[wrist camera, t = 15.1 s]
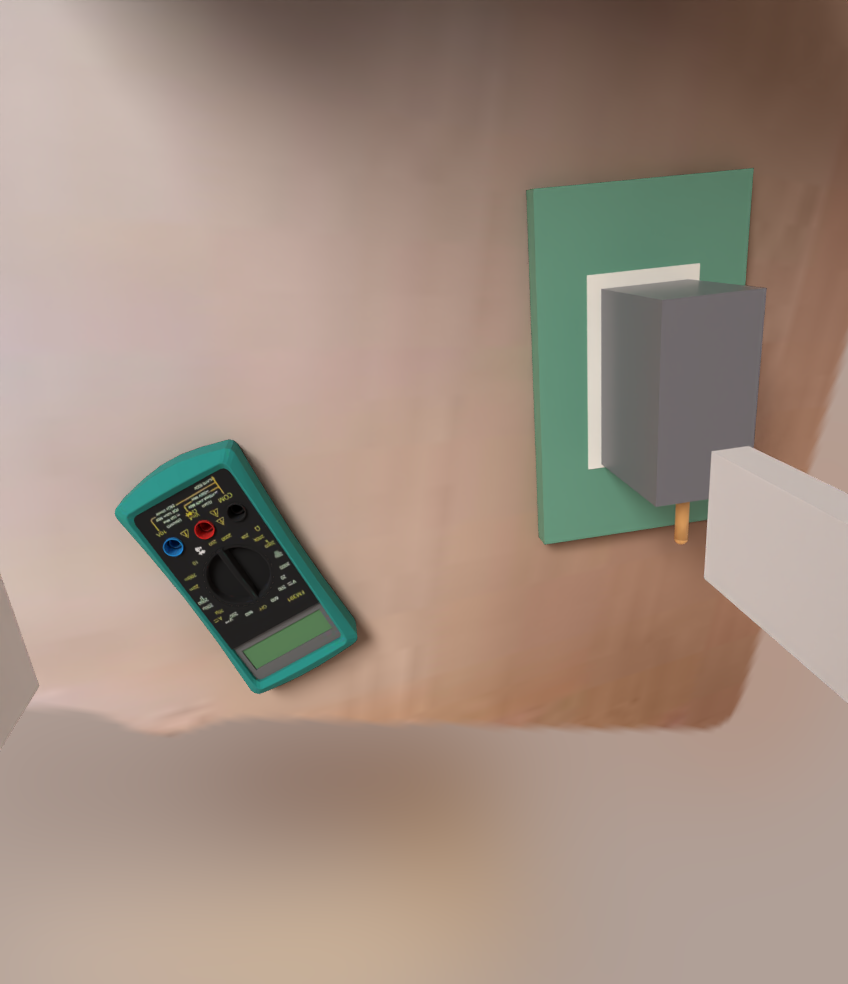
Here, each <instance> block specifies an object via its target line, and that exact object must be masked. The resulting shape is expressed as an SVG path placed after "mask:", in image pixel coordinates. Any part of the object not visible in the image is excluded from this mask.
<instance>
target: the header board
mask: <svg viewBox="0 0 848 984" xmlns="http://www.w3.org/2000/svg"><path fill="white" fill-rule="evenodd" d="M753 169H754V168H749V169H739V170H728V171H718V172H707V173H696V174H686V175H675V176H665V177H654V178H643V179H633V180H622V181H612V182H601V183H590V184H580V185H569V186H559V187H548V188H537V189H530V190H526V196H527V224H528V252H529V279H530V307H531V335H532V363H533V391H534V419H535V447H536V475H537V503H538V531H539V538H540V539H541V540H542V542H543V543H544V544H551V543H558V542H564V541H571V540H578V539H584V538H591V537H597V536H604V535H610V534H617V533H624V532H630V531H637V530H643V529H650V528H656V527H663V526H670V525H675V508H676V504H672V505H666V506H659V507H655V506H654V505H653V504H652V503H650V502H649V501H648V500H646V499H645V498H644V497H643V496H641V495H640V494H639V493H638V492H636V491H635V490H634V489H632V488H631V487H630V486H629V485H627V484H626V483H625V482H624V481H622V480H621V479H620V478H618V477H617V476H616V475H615V474H613V473H612V472H611V471H610V470H608V469H607V468H606V467H604V466H603V465H602V464H601V289H605V288H614V287H623V286H632V285H641V284H650V283H659V282H668V281H677V280H686V279H692V280H701V281H709V282H718V283H727V284H736V285H745V282H746V268H747V254H748V240H749V226H750V211H751V197H752V183H753ZM708 503H709V499H706V500H699V501H693V502H690V508H689V522H696V521H702V520H708Z"/></svg>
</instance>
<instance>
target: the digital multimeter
mask: <svg viewBox="0 0 848 984" xmlns="http://www.w3.org/2000/svg"><path fill="white" fill-rule="evenodd" d="M233 476H234V477H233ZM235 479H236V480H235ZM237 482H238V483H237ZM239 485H240V486H239ZM241 488H242V489H241ZM244 492H245V493H244ZM246 495H247V496H246ZM248 498H249V499H248ZM250 501H251V502H250ZM252 504H253V505H252ZM254 507H255V508H254ZM257 511H258V512H257ZM259 514H260V515H259ZM115 515H116V518H117V519H118V520H119V521H120V523H121V524H122V525H123V526H124V527H125V528H126V529H127V531H128V532H129V533H130V534H131V535H132V536H133V538H134V539H135V540H136V541H137V542H138V543H139V544H140V546H141V547H142V548H143V549H144V550H145V551H146V552H147V554H148V555H149V556H150V557H151V558H152V560H153V561H154V562H155V563H156V564H157V566H158V567H159V568H160V569H161V570H162V572H163V573H164V574H165V575H166V576H167V578H168V579H169V580H170V581H171V582H172V584H173V585H174V586H175V587H176V589H177V590H178V591H179V592H180V593H181V595H182V596H183V597H184V598H185V599H186V601H187V602H188V603H189V605H190V606H191V607H192V609H193V610H194V611H195V613H196V614H197V615H198V617H199V618H200V619H201V621H202V622H203V623H204V625H205V626H206V627H207V629H208V630H209V631H210V633H211V634H212V635H213V637H214V638H215V639H216V641H217V642H218V643H219V645H220V646H221V648H222V649H223V651H224V652H225V653H226V655H227V656H228V658H229V659H230V661H231V662H232V664H233V665H234V666H235V668H236V669H237V671H238V672H239V674H240V675H241V676H242V678H243V679H244V681H245V682H246V684H247V685H248V687H249V688H250V689H251V691H253V692H254V693H257V694H260V693H264V692H266V691H268V690H271V689H273V688H275V687H277V686H280V685H282V684H284V683H286V682H288V681H291V680H293V679H295V678H297V677H299V676H301V675H303V674H305V673H307V672H308V671H310V670H312V669H314V668H316V667H318V666H319V665H321V664H323V663H324V662H326V661H327V660H329V659H331V658H332V657H334V656H336V655H337V654H339V653H340V652H342V651H343V650H345V649H346V648H348V647H349V646H351V645H352V644H353V643H355V642H356V640H357V629H356V622H355V619H354V618H353V616H352V615H351V614H350V612H349V611H348V610H347V608H346V607H345V606H344V604H343V603H342V602H341V600H340V599H339V598H338V596H337V595H336V594H335V592H334V591H333V590H332V588H331V587H330V586H329V584H328V583H327V582H326V580H325V579H324V578H323V576H322V575H321V574H320V572H319V571H318V569H317V568H316V566H315V565H314V563H313V562H312V561H311V559H310V558H309V556H308V555H307V553H306V552H305V550H304V549H303V548H302V546H301V545H300V543H299V542H298V540H297V539H296V537H295V536H294V535H293V533H292V532H291V530H290V529H289V527H288V525H287V524H286V522H285V521H284V519H283V517H282V516H281V514H280V513H279V511H278V510H277V508H276V506H275V505H274V503H273V502H272V500H271V498H270V497H269V495H268V494H267V492H266V490H265V489H264V487H263V486H262V484H261V482H260V481H259V479H258V477H257V476H256V474H255V472H254V471H253V469H252V467H251V466H250V464H249V462H248V461H247V459H246V457H245V456H244V454H243V452H242V451H241V449H240V447H239V446H238V444H237V443H236V442H235V441H233V440H225V441H222V442H218V443H214V444H211V445H207V446H203V447H200V448H198V449H195V450H192V451H189V452H187V453H184V454H181V455H179V456H177V457H175V458H174V459H172V460H170V461H168V462H166V463H165V464H163V465H161V466H160V467H158V468H157V469H156V470H155V471H153V472H152V473H151V474H150V475H148V476H147V477H146V478H145V479H143V480H142V481H141V482H140V483H139V484H138V485H137V486H136V487H135V488H134V489H133V490H132V491H131V492H130V493H129V494H128V495H126V496H125V497H124V499H123V500H122V501H121V503H120V504H119V505H118V507H117V508H116V510H115ZM261 517H262V518H261ZM263 520H264V521H263ZM265 523H266V524H265ZM267 526H268V527H267ZM272 533H273V534H272ZM274 536H275V537H274ZM276 539H277V540H276ZM278 542H279V543H278ZM280 545H281V546H280ZM217 550H218V551H217ZM213 553H214V554H213ZM287 555H288V556H287ZM210 556H211V557H210ZM289 558H290V559H289ZM268 559H269V560H268ZM291 561H292V562H291ZM206 562H207V563H206ZM204 567H205V568H204ZM298 571H299V572H298ZM300 574H301V575H300ZM203 575H204V576H203ZM302 577H303V578H302ZM304 580H305V581H304ZM206 587H207V588H206ZM270 588H271V589H270ZM311 590H312V591H311ZM313 593H314V594H313ZM213 596H214V597H213ZM315 596H316V597H315ZM317 599H318V600H317ZM232 605H233V606H232ZM244 605H246V606H244Z"/></svg>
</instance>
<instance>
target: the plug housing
mask: <svg viewBox="0 0 848 984" xmlns="http://www.w3.org/2000/svg"><path fill="white" fill-rule="evenodd" d="M766 289H767V288H762V287H753V286H745V285H736V284H727V283H718V282H709V281H701V280H692V279H686V280H677V281H668V282H659V283H650V284H641V285H632V286H623V287H614V288H605V289H601V464H602V465H603V466H604V467H606V468H607V469H608V470H610V471H611V472H612V473H613V474H615V475H616V476H617V477H618V478H620V479H621V480H622V481H624V482H625V483H626V484H627V485H629V486H630V487H631V488H632V489H634V490H635V491H636V492H638V493H639V494H640V495H641V496H643V497H644V498H645V499H646V500H648V501H649V502H650V503H652V504H653V505H654V506H655V507H659V506H666V505H672V504H676V508H675V533H674V539H675V542H676V543H678V544H685V543H686V542H687V541H688V529H689V508H690V502H693V501H699V500H706V499H709V486H710V469H711V453H712V451H717V450H724V449H731V448H738V447H745V446H750V447H752V448H754V436H755V424H756V412H757V399H758V387H759V375H760V363H761V350H762V338H763V326H764V314H765V301H766Z"/></svg>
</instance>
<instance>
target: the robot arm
mask: <svg viewBox="0 0 848 984" xmlns="http://www.w3.org/2000/svg"><path fill="white" fill-rule="evenodd" d="M704 579H705V580H707V581H708V582H709V583H710V584H711V585H712V586H714V587H715V588H716V589H717V590H718V591H719V592H720V593H722V594H723V595H724V596H725V597H726V598H727V599H728V600H730V601H731V602H732V603H733V604H734V605H735V606H736V607H738V608H739V609H740V610H741V611H742V612H743V613H745V614H746V615H747V616H748V617H749V618H750V619H751V620H753V621H754V622H755V623H756V624H757V625H758V626H759V627H761V628H762V629H763V630H764V631H765V632H766V633H768V634H769V635H770V636H771V637H772V638H773V639H775V640H776V641H777V642H778V643H779V644H780V645H781V646H783V647H784V648H785V649H786V650H787V651H788V652H789V653H790V654H792V655H793V656H794V657H795V658H796V659H797V660H799V661H800V662H801V663H802V664H803V665H804V666H805V667H807V668H808V669H809V670H810V671H811V672H812V673H814V674H815V675H816V676H817V677H818V678H819V679H820V680H822V681H823V682H824V683H825V684H826V685H827V686H828V687H830V688H831V689H832V690H833V691H834V692H835V693H837V694H838V695H839V696H840V697H841V698H842V699H843V700H845V701H846V702H847V703H848V493H846V492H844V491H842V490H840V489H837V488H835V487H833V486H831V485H829V484H827V483H825V482H822V481H821V480H819V479H816V478H815V477H812V476H810V475H808V474H806V473H804V472H802V471H800V470H798V469H796V468H794V467H792V466H789V465H787V464H785V463H783V462H781V461H779V460H777V459H775V458H773V457H771V456H769V455H767V454H764V453H762V452H760V451H758V450H756V449H754V448H752V447H750V446H745V447H738V448H731V449H724V450H717V451H712V453H711V469H710V486H709V503H708V520H707V537H706V554H705V570H704ZM38 687H39V683H38V680H37V678H36V675H35V672H34V669H33V666H32V663H31V660H30V657H29V655H28V652H27V649H26V646H25V643H24V640H23V637H22V635H21V632H20V629H19V626H18V623H17V620H16V617H15V614H14V612H13V609H12V606H11V603H10V600H9V597H8V594H7V592H6V589H5V586H4V583H3V580H2V577H1V574H0V750H1V749H2V747H3V745H4V744H5V742H6V740H7V739H8V737H9V735H10V734H11V732H12V730H13V729H14V727H15V725H16V724H17V722H18V720H19V719H20V717H21V716H22V714H23V712H24V711H25V709H26V707H27V706H28V704H29V702H30V701H31V699H32V697H33V696H34V694H35V692H36V691H37V689H38Z"/></svg>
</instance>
